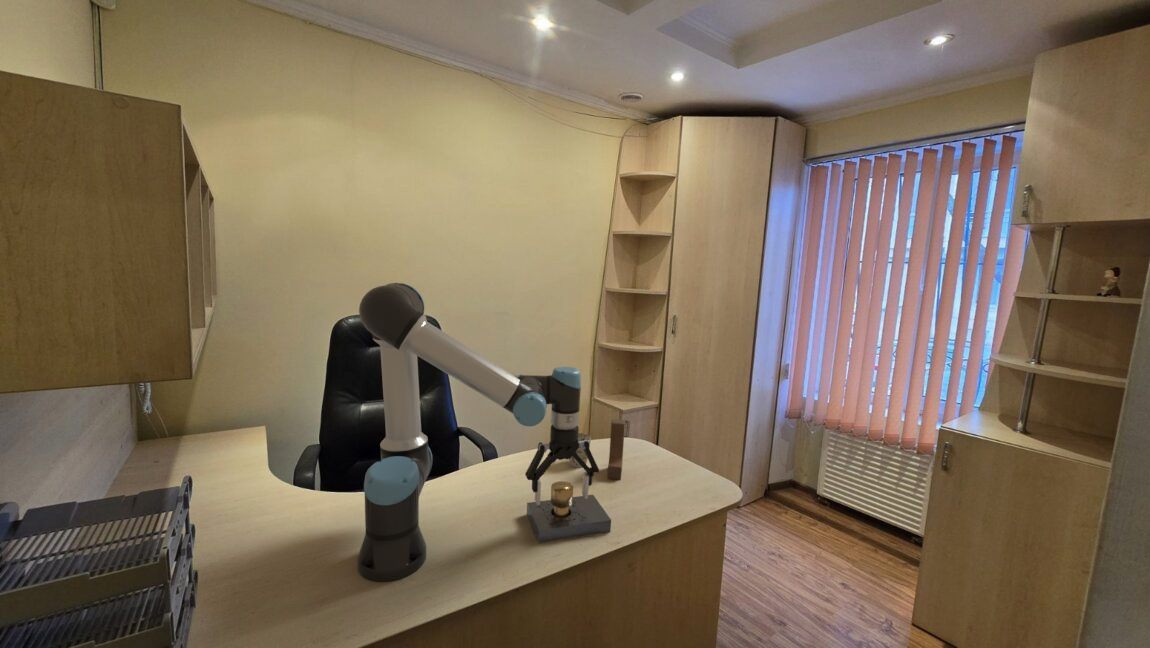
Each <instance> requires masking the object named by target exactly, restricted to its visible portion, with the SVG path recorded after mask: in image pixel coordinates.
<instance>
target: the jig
mask: <svg viewBox="0 0 1150 648" xmlns="http://www.w3.org/2000/svg"><path fill="white" fill-rule="evenodd" d="M526 516H527V519H528V520H529V523H530V526H531V528H532V532H534V535H535V538H536V541H537V543H538V544H542V543H547V542H548V543H549V542H553V541H554V542H555V541H561V540H567V539H573V538H574V539H575V538H581V537H586V536H593V535H599V534H606V533H611V532H612V531H611V528H612V527H611V526H612V519H611V517H610V516H609V515H608V513H607V512H606V511H605V509H604V508H603V506H602V505H601V504H600V502H599V501H598V500H597V498H596V497H595V495H594V494H588V499H585V498H584V496H583V495H578V496H577V495H576V496H573V502H572V505H571V506H569V510H568V517H564V518H559V517H555V516H554V506H553V505H552V504H551V499H548V500H540V505H537V503H536V501H532V502H530V501H529V502H527V503H526Z"/></svg>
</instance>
